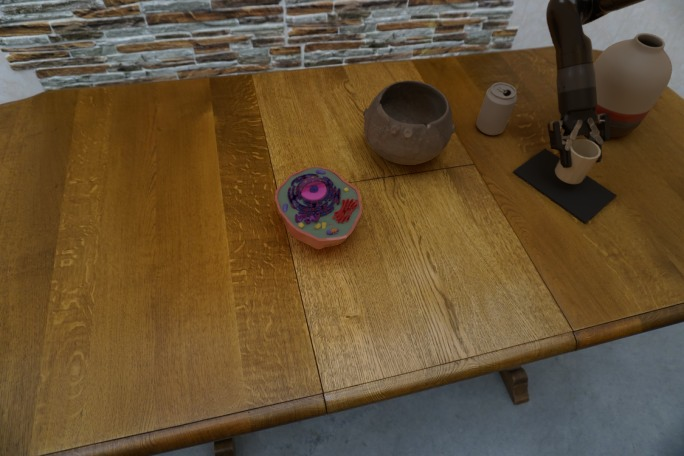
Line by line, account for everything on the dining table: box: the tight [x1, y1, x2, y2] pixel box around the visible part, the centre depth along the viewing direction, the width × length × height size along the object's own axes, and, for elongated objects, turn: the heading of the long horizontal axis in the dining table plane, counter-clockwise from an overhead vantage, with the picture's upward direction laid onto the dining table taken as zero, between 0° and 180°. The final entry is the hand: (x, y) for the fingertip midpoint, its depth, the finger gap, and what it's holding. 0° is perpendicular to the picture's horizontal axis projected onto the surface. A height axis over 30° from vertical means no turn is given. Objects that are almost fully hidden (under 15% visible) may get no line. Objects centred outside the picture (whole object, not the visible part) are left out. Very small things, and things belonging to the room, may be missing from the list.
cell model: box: [274, 166, 363, 250], centre depth 95 cm, size 17×20×11 cm
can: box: [475, 81, 518, 136], centre depth 116 cm, size 8×8×12 cm
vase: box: [593, 32, 673, 138], centre depth 114 cm, size 17×17×24 cm
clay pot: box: [362, 79, 456, 166], centre depth 109 cm, size 21×21×15 cm
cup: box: [555, 137, 601, 184], centre depth 103 cm, size 7×7×8 cm
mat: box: [512, 148, 618, 225], centre depth 109 cm, size 20×13×1 cm, turn 40°
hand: (581, 164), depth 102 cm, fingers closed on cup, 7 cm apart
